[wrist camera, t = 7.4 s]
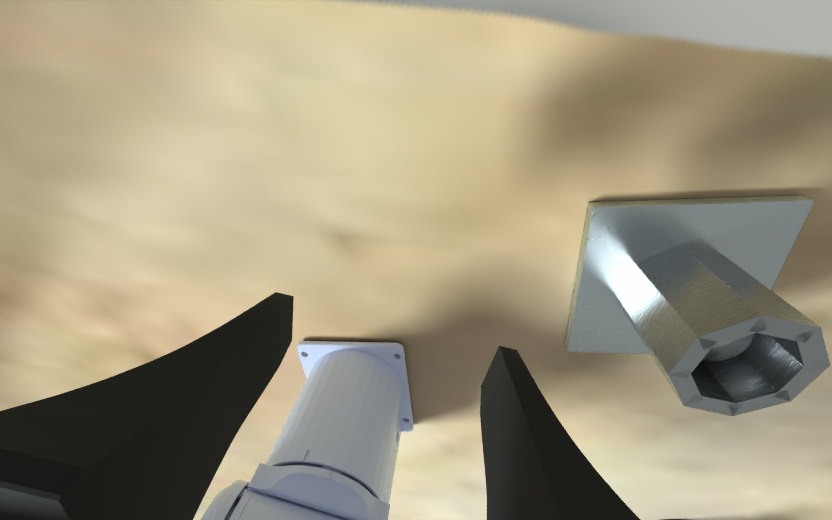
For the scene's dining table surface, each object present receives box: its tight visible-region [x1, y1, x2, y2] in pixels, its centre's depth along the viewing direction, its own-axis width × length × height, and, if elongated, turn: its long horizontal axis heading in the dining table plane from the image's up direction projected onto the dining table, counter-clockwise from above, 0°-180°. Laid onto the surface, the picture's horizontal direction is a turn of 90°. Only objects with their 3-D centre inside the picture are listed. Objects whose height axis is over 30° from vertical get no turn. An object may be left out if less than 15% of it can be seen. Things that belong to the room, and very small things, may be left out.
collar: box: [616, 244, 830, 416], centre depth 17 cm, size 5×5×6 cm
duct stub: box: [565, 195, 815, 361], centre depth 18 cm, size 10×10×5 cm
